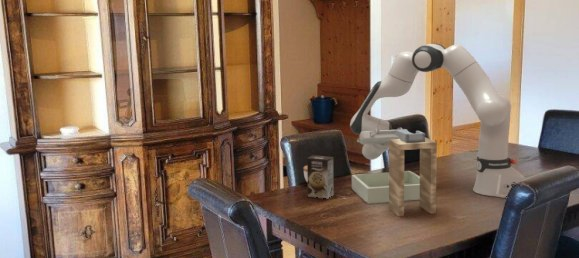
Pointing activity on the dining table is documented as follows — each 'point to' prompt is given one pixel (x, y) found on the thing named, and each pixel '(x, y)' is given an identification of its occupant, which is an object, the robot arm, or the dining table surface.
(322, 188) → the cookie box
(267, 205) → the dining table surface
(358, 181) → the pale green tray
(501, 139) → the robot arm
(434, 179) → the birch stand
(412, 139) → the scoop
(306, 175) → the lidded jar
